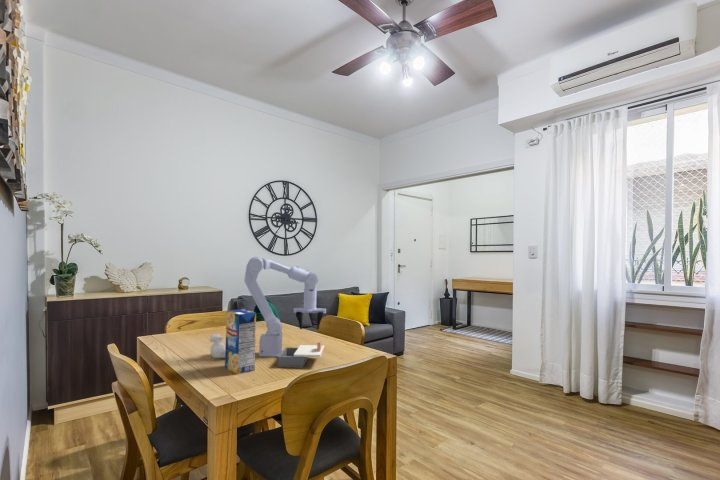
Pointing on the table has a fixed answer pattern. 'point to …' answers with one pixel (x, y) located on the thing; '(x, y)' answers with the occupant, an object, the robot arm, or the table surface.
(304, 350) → the carton lid
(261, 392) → the table surface
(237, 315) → the beverage box
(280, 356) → the carton
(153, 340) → the table surface
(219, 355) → the bust
